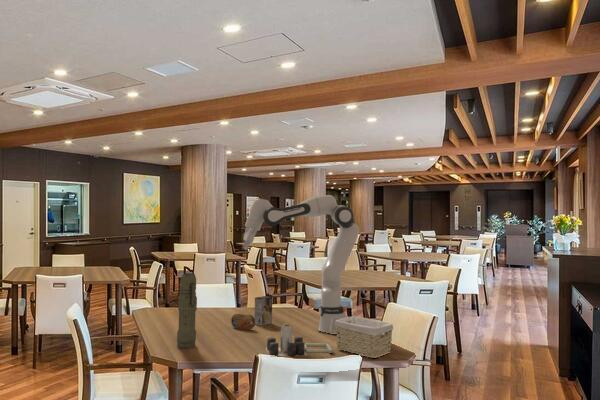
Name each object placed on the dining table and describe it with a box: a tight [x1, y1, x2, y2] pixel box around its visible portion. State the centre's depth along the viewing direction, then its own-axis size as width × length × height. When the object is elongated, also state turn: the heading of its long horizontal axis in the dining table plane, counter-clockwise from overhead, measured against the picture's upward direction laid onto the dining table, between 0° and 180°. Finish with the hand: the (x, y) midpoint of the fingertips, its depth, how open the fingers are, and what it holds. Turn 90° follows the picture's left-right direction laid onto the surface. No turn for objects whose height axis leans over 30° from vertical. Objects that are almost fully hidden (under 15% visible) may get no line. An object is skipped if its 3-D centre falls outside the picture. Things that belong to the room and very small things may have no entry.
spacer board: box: [265, 336, 308, 357], centre depth 217 cm, size 18×16×6 cm
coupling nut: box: [280, 323, 293, 353], centre depth 218 cm, size 5×4×12 cm
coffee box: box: [254, 295, 273, 327], centre depth 280 cm, size 9×6×16 cm
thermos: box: [176, 272, 198, 349], centre depth 228 cm, size 9×12×35 cm
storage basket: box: [335, 315, 394, 357], centre depth 223 cm, size 24×16×15 cm
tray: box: [304, 342, 333, 354], centre depth 224 cm, size 12×12×2 cm
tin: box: [230, 313, 256, 331], centre depth 267 cm, size 15×3×8 cm, turn 62°
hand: (244, 249), depth 260 cm, fingers open, 8 cm apart
